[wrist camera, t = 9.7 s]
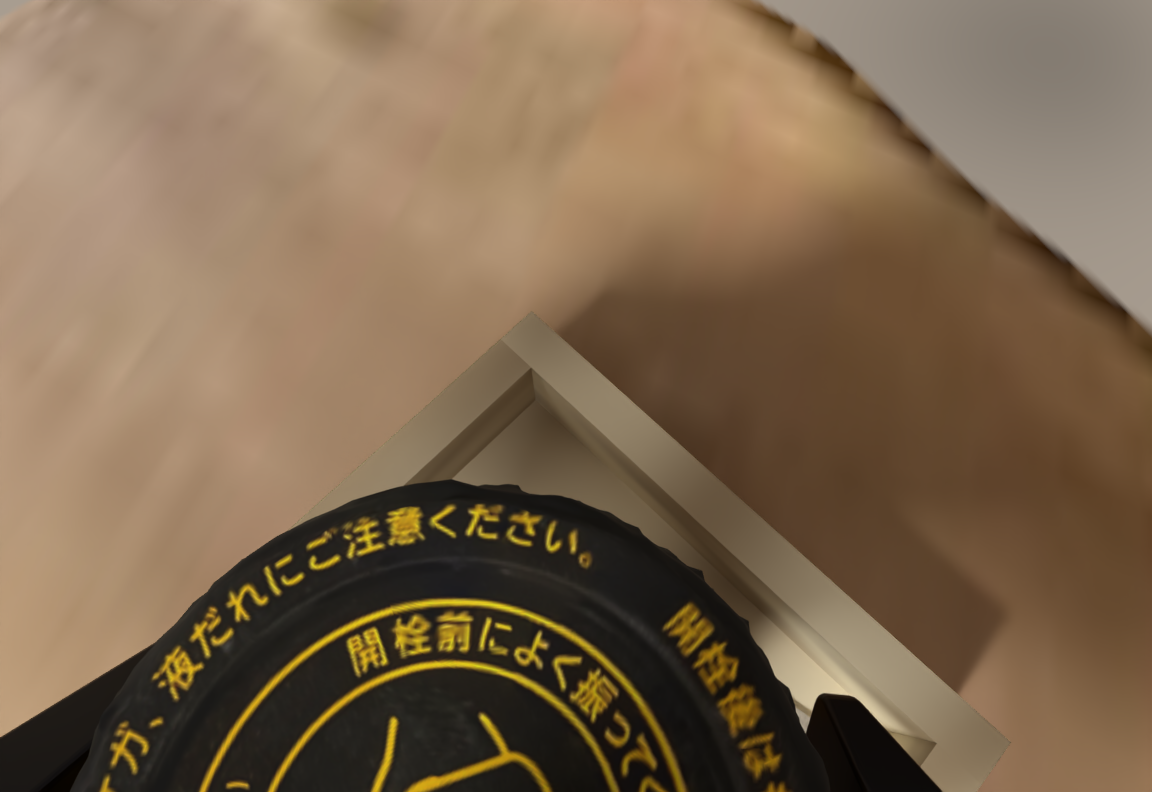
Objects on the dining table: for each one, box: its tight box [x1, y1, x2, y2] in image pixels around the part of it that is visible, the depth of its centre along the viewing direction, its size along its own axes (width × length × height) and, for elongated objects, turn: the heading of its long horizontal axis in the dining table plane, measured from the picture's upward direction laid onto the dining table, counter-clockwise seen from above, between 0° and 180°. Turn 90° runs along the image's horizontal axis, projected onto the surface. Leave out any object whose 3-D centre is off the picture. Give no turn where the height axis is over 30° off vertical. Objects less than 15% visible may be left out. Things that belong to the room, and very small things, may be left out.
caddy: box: [289, 311, 1011, 792], centre depth 15 cm, size 13×13×3 cm
